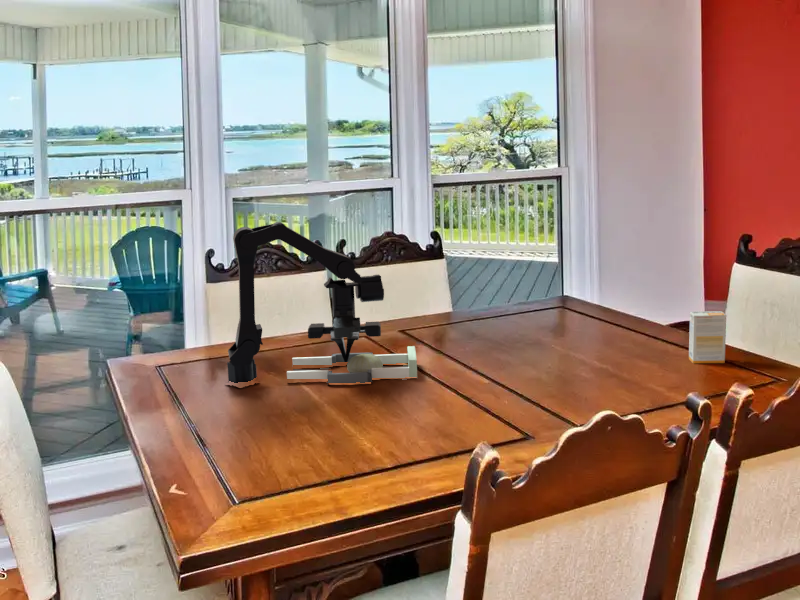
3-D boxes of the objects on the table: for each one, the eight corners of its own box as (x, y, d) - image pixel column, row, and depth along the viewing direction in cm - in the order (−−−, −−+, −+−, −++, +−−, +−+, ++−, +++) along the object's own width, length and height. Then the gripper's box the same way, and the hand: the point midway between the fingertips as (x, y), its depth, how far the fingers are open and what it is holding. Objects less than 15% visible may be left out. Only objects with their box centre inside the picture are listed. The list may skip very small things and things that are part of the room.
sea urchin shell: (385, 370, 212) (362, 349, 211) (364, 391, 214) (342, 371, 213) (386, 360, 221) (364, 340, 220) (366, 381, 223) (344, 361, 222)
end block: (409, 379, 211) (408, 360, 210) (407, 364, 224) (407, 346, 223) (417, 378, 211) (416, 359, 210) (415, 364, 224) (414, 346, 224)
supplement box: (719, 358, 220) (721, 310, 217) (725, 363, 215) (727, 314, 213) (687, 359, 221) (689, 310, 218) (692, 364, 216) (694, 314, 213)
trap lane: (285, 387, 207) (285, 376, 206) (294, 365, 227) (293, 355, 226) (409, 383, 207) (409, 371, 207) (407, 361, 227) (407, 351, 226)
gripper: (304, 311, 206) (307, 371, 209) (379, 308, 206) (381, 369, 209) (308, 302, 217) (311, 360, 220) (379, 300, 217) (381, 357, 220)
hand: (346, 361), depth 217 cm, fingers closed
